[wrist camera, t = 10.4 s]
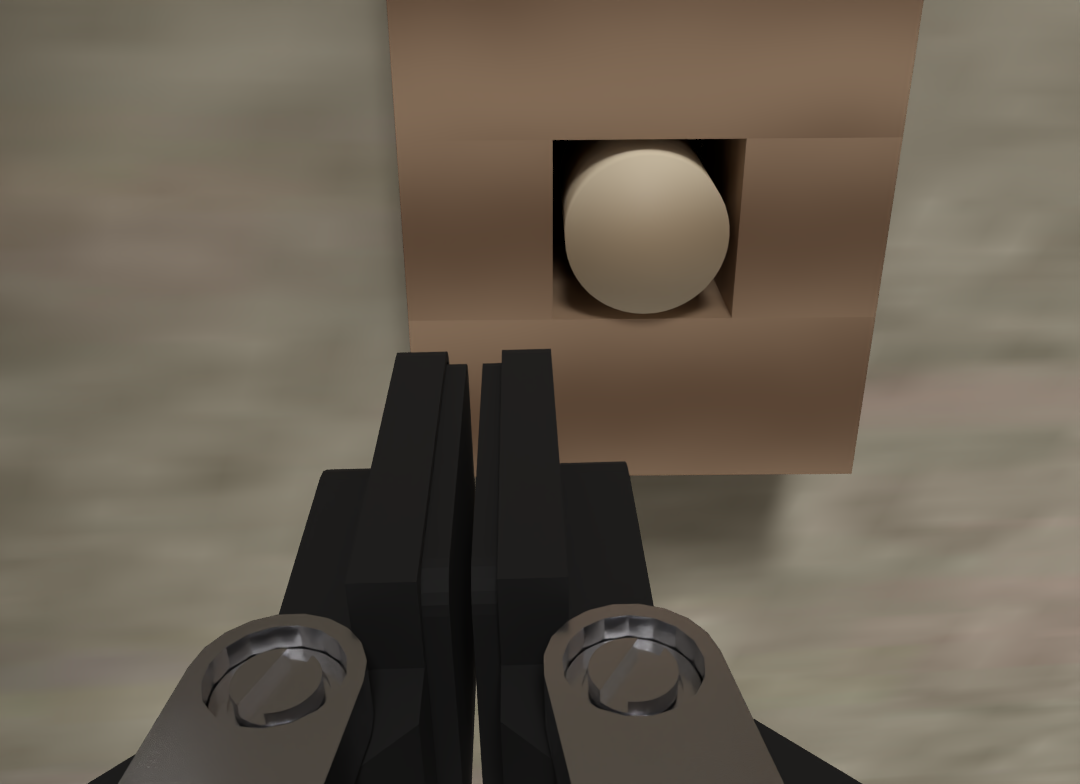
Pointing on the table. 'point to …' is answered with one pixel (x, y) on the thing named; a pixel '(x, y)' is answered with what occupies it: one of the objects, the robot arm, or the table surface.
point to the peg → (641, 222)
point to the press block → (735, 169)
